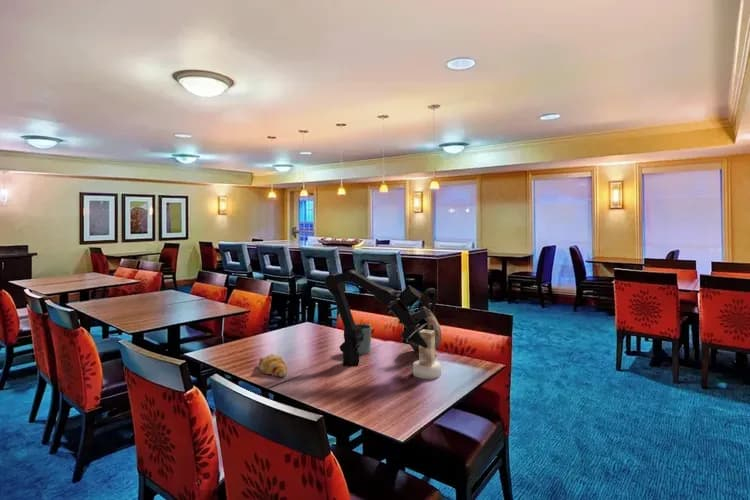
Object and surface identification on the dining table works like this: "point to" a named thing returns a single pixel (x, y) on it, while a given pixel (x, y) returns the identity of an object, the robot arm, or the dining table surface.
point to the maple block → (427, 353)
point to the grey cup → (365, 339)
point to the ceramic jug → (432, 320)
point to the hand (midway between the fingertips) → (430, 344)
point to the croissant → (273, 365)
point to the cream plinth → (427, 370)
